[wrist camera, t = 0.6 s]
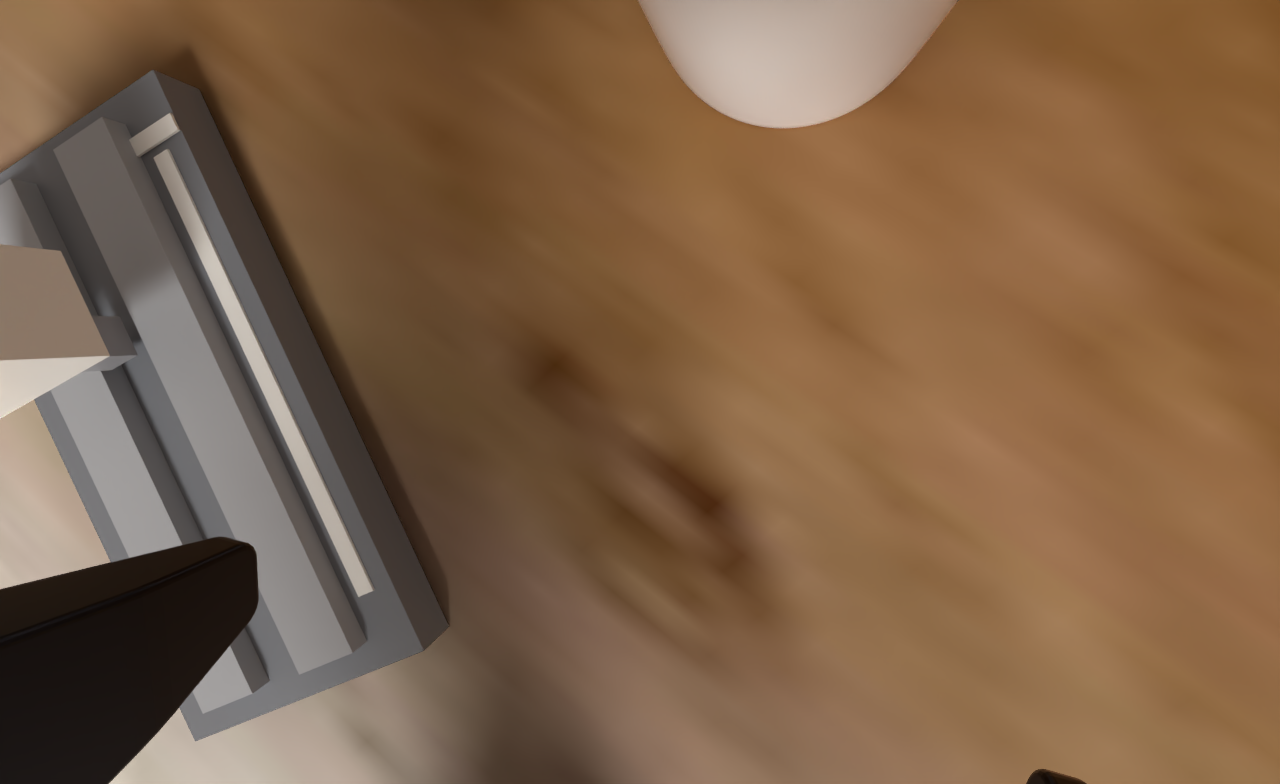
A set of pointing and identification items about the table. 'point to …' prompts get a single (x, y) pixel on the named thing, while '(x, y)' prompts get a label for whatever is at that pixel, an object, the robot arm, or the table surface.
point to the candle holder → (791, 52)
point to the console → (215, 402)
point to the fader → (49, 328)
